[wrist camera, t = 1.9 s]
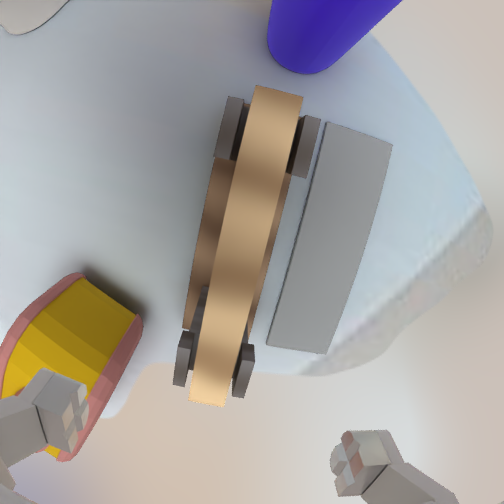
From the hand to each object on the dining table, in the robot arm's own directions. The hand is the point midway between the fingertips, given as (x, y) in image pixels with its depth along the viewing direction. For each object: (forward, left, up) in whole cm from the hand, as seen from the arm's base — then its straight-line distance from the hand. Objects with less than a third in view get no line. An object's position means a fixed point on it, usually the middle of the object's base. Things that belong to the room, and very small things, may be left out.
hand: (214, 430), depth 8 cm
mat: (0, +11, -28) cm, 30 cm away
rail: (0, 0, -16) cm, 16 cm away
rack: (0, 0, -28) cm, 28 cm away
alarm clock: (+18, -16, -28) cm, 36 cm away
